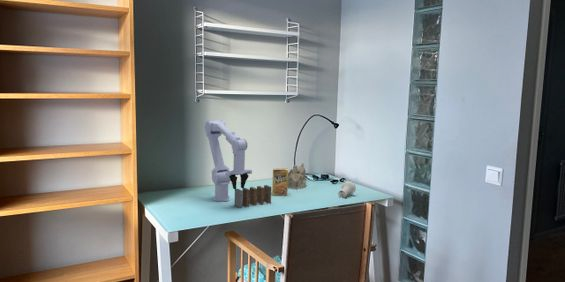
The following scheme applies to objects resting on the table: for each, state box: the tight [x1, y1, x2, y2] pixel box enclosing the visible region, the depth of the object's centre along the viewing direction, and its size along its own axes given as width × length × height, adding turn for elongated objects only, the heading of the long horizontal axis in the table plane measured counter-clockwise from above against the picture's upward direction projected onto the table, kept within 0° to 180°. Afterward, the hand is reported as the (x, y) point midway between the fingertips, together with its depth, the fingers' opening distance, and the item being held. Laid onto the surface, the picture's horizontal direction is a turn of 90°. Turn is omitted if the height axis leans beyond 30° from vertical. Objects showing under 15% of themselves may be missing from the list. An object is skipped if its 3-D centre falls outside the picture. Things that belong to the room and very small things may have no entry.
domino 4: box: [256, 185, 265, 205], centre depth 228 cm, size 2×5×9 cm, turn 34°
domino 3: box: [249, 186, 258, 207], centre depth 225 cm, size 2×5×9 cm, turn 34°
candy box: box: [271, 167, 289, 196], centre depth 246 cm, size 9×4×15 cm, turn 92°
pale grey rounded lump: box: [337, 180, 357, 199], centre depth 249 cm, size 8×11×8 cm
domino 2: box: [241, 187, 250, 208], centre depth 223 cm, size 2×5×9 cm, turn 34°
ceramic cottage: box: [287, 163, 307, 190], centre depth 269 cm, size 16×16×15 cm
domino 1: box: [233, 188, 243, 209], centre depth 220 cm, size 2×5×9 cm, turn 36°
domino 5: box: [263, 184, 272, 204], centre depth 230 cm, size 2×5×9 cm, turn 34°
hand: (238, 188), depth 220 cm, fingers open, 4 cm apart
